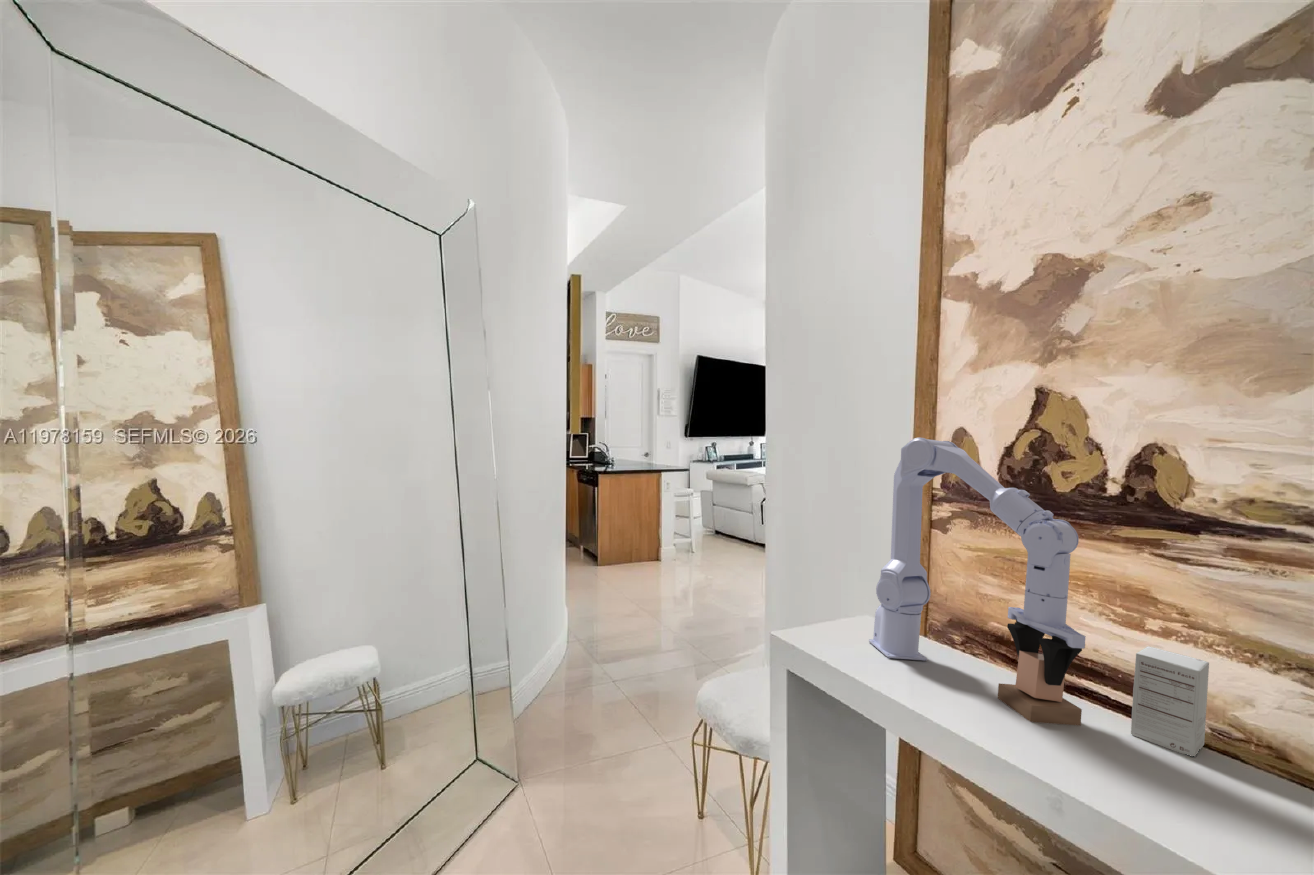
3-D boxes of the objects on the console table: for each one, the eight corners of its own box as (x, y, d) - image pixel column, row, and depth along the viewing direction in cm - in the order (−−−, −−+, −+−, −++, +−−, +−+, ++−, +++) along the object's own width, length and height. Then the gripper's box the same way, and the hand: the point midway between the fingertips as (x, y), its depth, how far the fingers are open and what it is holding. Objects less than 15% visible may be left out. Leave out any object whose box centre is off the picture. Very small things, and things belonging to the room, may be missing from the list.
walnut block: (997, 701, 94) (998, 683, 94) (1043, 704, 94) (1044, 687, 94) (1030, 724, 86) (1031, 705, 86) (1080, 728, 86) (1081, 709, 86)
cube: (1041, 690, 93) (1045, 654, 93) (1062, 702, 88) (1066, 664, 88) (1015, 686, 92) (1019, 650, 93) (1034, 697, 88) (1039, 659, 88)
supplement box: (1141, 723, 89) (1147, 644, 89) (1205, 746, 83) (1211, 661, 83) (1128, 734, 85) (1134, 652, 85) (1194, 759, 79) (1201, 670, 79)
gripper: (993, 580, 98) (987, 657, 97) (1055, 604, 83) (1049, 695, 83) (1032, 583, 98) (1026, 660, 98) (1101, 607, 83) (1094, 698, 83)
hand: (1039, 676), depth 90 cm, fingers open, 5 cm apart
